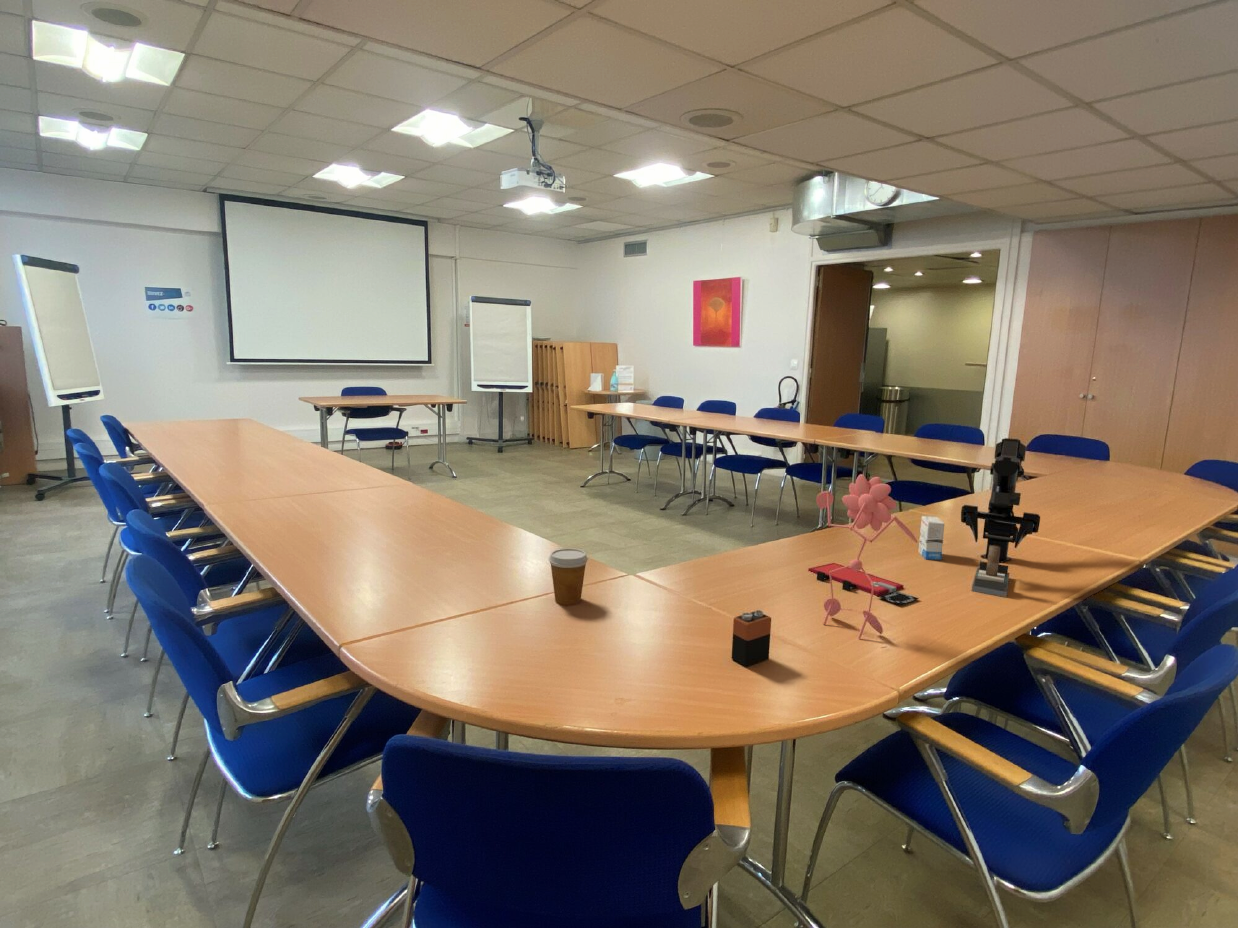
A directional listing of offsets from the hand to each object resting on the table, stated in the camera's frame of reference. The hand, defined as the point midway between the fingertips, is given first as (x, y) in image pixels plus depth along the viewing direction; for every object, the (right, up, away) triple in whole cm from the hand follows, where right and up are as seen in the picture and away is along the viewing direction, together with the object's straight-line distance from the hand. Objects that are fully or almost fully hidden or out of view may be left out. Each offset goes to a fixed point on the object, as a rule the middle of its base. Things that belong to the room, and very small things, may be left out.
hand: (995, 544), depth 176 cm
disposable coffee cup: (-114, -12, -15) cm, 116 cm away
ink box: (-5, -7, +27) cm, 28 cm away
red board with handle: (-36, -12, 0) cm, 38 cm away
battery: (-75, -18, -45) cm, 89 cm away
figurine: (-47, -16, -26) cm, 56 cm away
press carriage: (-3, -10, -3) cm, 11 cm away
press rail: (0, -11, +2) cm, 11 cm away
